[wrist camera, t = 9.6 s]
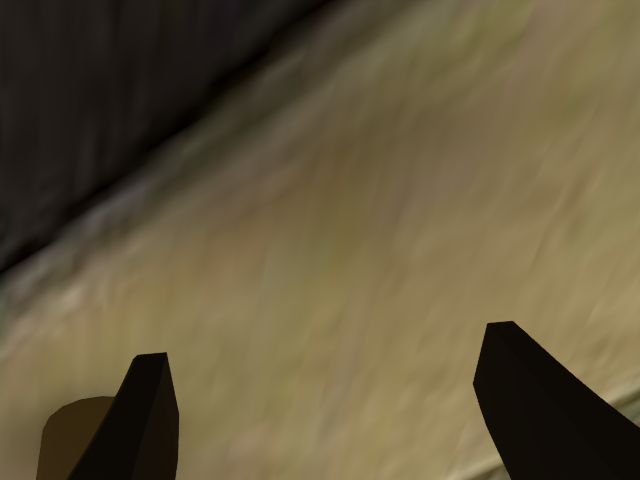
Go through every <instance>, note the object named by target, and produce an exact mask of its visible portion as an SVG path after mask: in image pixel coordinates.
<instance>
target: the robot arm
mask: <svg viewBox="0 0 640 480" xmlns="http://www.w3.org/2000/svg"><path fill="white" fill-rule="evenodd" d="M473 386H474V389H475V393H476V396H477V399H478V402H479V406H480V409H481V412H482V415H483V418H484V420H485V423H486V426H487V428H488V431H489V433H490V435H491V437H492V439H493V442H494V444H495V446H496V448H497V450H498V452H499V454H500V457H501V459H502V461H503V463H504V465H505V467H506V469H507V471H508V474H509V476H510V478H511V480H640V428H639V427H638V426H637V425H635V424H634V423H633V422H631V421H630V420H629V419H627V418H626V417H625V416H623V415H622V414H621V413H620V412H618V411H617V410H616V409H614V408H613V407H612V406H610V405H609V404H608V403H607V402H605V401H604V400H603V399H602V398H600V397H599V396H598V395H597V394H596V393H594V392H593V391H592V390H591V389H589V388H588V387H587V386H586V385H585V384H583V383H582V382H581V381H580V380H579V379H578V378H576V377H575V376H574V375H573V374H572V373H571V372H569V371H568V370H567V369H566V368H565V367H564V366H563V365H561V364H560V363H559V362H558V361H557V360H556V359H555V358H554V357H553V356H551V355H550V354H549V353H548V352H547V351H546V350H545V349H544V348H542V347H541V346H540V345H539V344H538V343H537V342H536V341H535V340H534V339H532V338H531V337H530V336H529V335H528V334H527V333H526V332H525V331H524V330H522V329H521V328H520V327H519V326H518V325H517V324H516V323H515V322H513V321H506V322H495V323H487V327H486V331H485V335H484V339H483V343H482V347H481V352H480V356H479V360H478V364H477V368H476V372H475V377H474V381H473ZM178 440H179V411H178V406H177V401H176V396H175V391H174V386H173V382H172V377H171V372H170V367H169V362H168V357H167V352H164V353H153V354H142V355H137V356H136V357H135V358H134V359H133V361H132V363H131V365H130V367H129V370H128V372H127V374H126V376H125V378H124V380H123V383H122V385H121V387H120V389H119V391H118V393H117V395H116V396H115V398H114V400H113V402H112V404H111V406H110V408H109V410H108V412H107V413H106V415H105V417H104V419H103V420H102V422H101V424H100V426H99V427H98V429H97V431H96V433H95V434H94V436H93V438H92V440H91V441H90V443H89V445H88V446H87V448H86V450H85V451H84V453H83V454H82V456H81V457H80V459H79V460H78V462H77V464H76V465H75V467H74V468H73V470H72V471H71V473H70V474H69V476H68V478H67V479H66V480H175V477H176V470H177V462H178Z"/></svg>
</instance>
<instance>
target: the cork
mask: <svg viewBox="0 0 640 480" xmlns="http://www.w3.org/2000/svg"><path fill="white" fill-rule="evenodd" d="M114 398H115V397H96V398H90V399H83V400H79V401H77V402H74V403H72V404H69V405H66V406H64V407H62V408H61V409H59V410H58V411H57V412H56V413H54V414H53V415H52V416H51V417H50V418H49V419H48V421H47V423H46V425H45V427H44V429H43V433H42V441H41V448H40V455H39V462H38V469H37V476H36V480H66V479H67V478H68V476H69V474H70V473H71V471H72V470H73V468H74V467H75V465H76V464H77V462H78V460H79V459H80V457H81V456H82V454H83V453H84V451H85V450H86V448H87V446H88V445H89V443H90V441H91V440H92V438H93V436H94V434H95V433H96V431H97V429H98V427H99V426H100V424H101V422H102V420H103V419H104V417H105V415H106V413H107V412H108V410H109V408H110V406H111V404H112V402H113V400H114Z"/></svg>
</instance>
